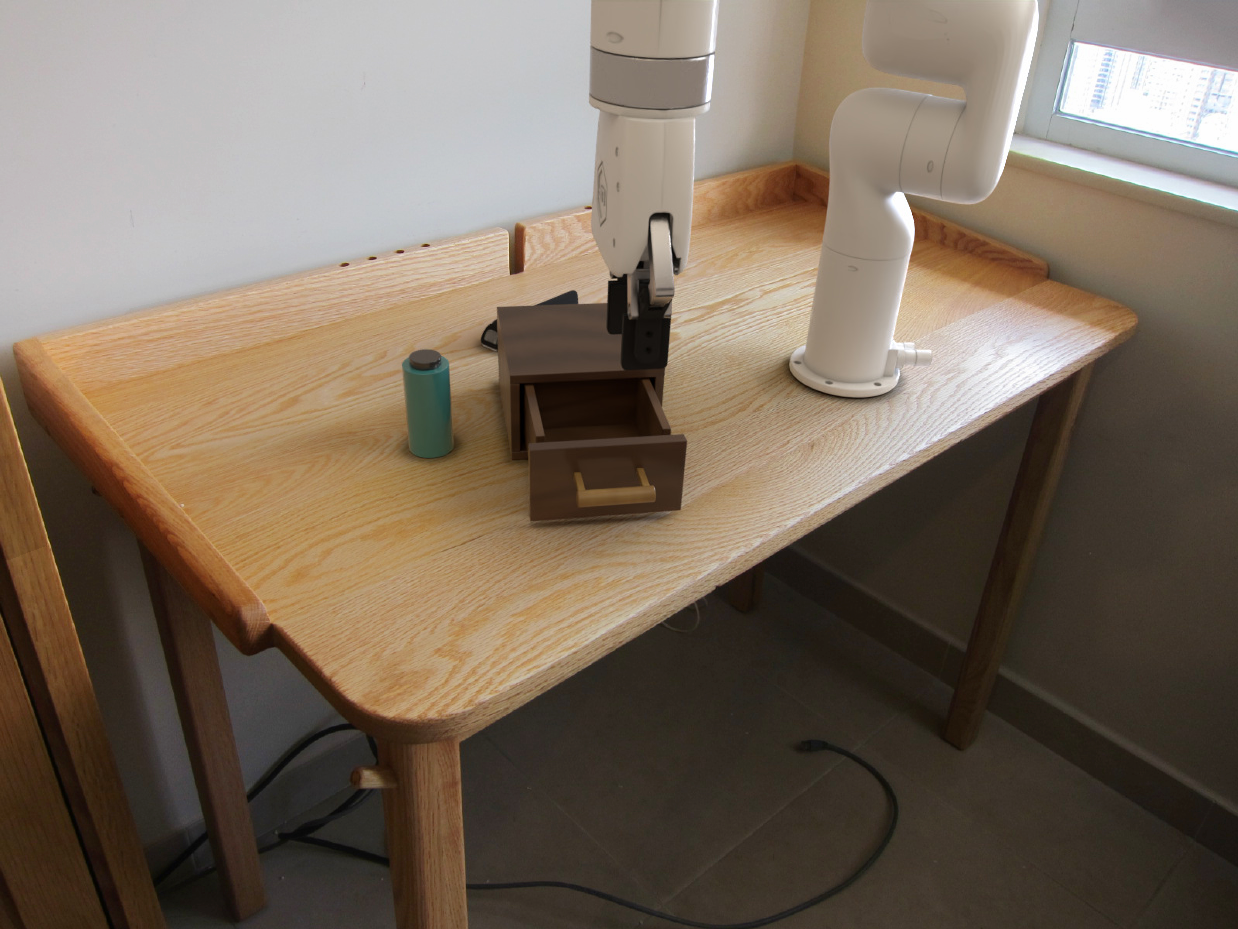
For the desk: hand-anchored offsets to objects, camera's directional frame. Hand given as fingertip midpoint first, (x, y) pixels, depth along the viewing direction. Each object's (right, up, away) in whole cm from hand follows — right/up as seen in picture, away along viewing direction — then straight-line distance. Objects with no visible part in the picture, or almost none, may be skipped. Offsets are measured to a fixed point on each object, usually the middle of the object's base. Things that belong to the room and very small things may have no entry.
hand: (635, 346), depth 70 cm
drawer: (-3, -10, +22) cm, 24 cm away
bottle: (-20, -7, +28) cm, 35 cm away
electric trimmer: (-12, +8, +52) cm, 54 cm away
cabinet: (-6, -3, +34) cm, 35 cm away
